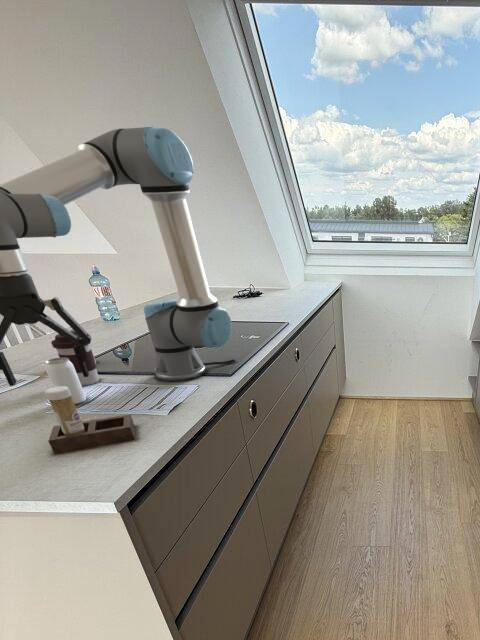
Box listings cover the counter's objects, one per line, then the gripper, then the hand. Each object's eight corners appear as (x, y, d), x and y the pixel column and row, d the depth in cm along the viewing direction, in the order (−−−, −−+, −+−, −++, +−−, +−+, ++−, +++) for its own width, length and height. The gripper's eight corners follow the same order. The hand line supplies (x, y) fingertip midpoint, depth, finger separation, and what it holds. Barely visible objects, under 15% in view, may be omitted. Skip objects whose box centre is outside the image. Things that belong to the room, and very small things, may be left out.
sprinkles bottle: (86, 445, 107) (63, 391, 100) (64, 447, 106) (40, 393, 99) (92, 437, 111) (71, 384, 104) (72, 439, 110) (49, 386, 103)
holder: (134, 426, 116) (130, 413, 115) (135, 440, 110) (130, 427, 108) (59, 439, 110) (53, 425, 108) (54, 454, 103) (48, 440, 101)
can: (74, 406, 128) (57, 364, 121) (55, 404, 129) (36, 363, 122) (92, 398, 133) (76, 357, 127) (73, 396, 134) (56, 356, 128)
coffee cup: (61, 385, 143) (40, 336, 135) (90, 375, 151) (72, 329, 143) (83, 389, 140) (63, 339, 132) (111, 379, 148) (94, 332, 140)
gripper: (82, 269, 96) (115, 367, 108) (-70, 275, 87) (-16, 382, 98) (78, 273, 91) (114, 376, 102) (-84, 279, 81) (-25, 393, 92)
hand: (51, 379), depth 100 cm, fingers open, 13 cm apart
